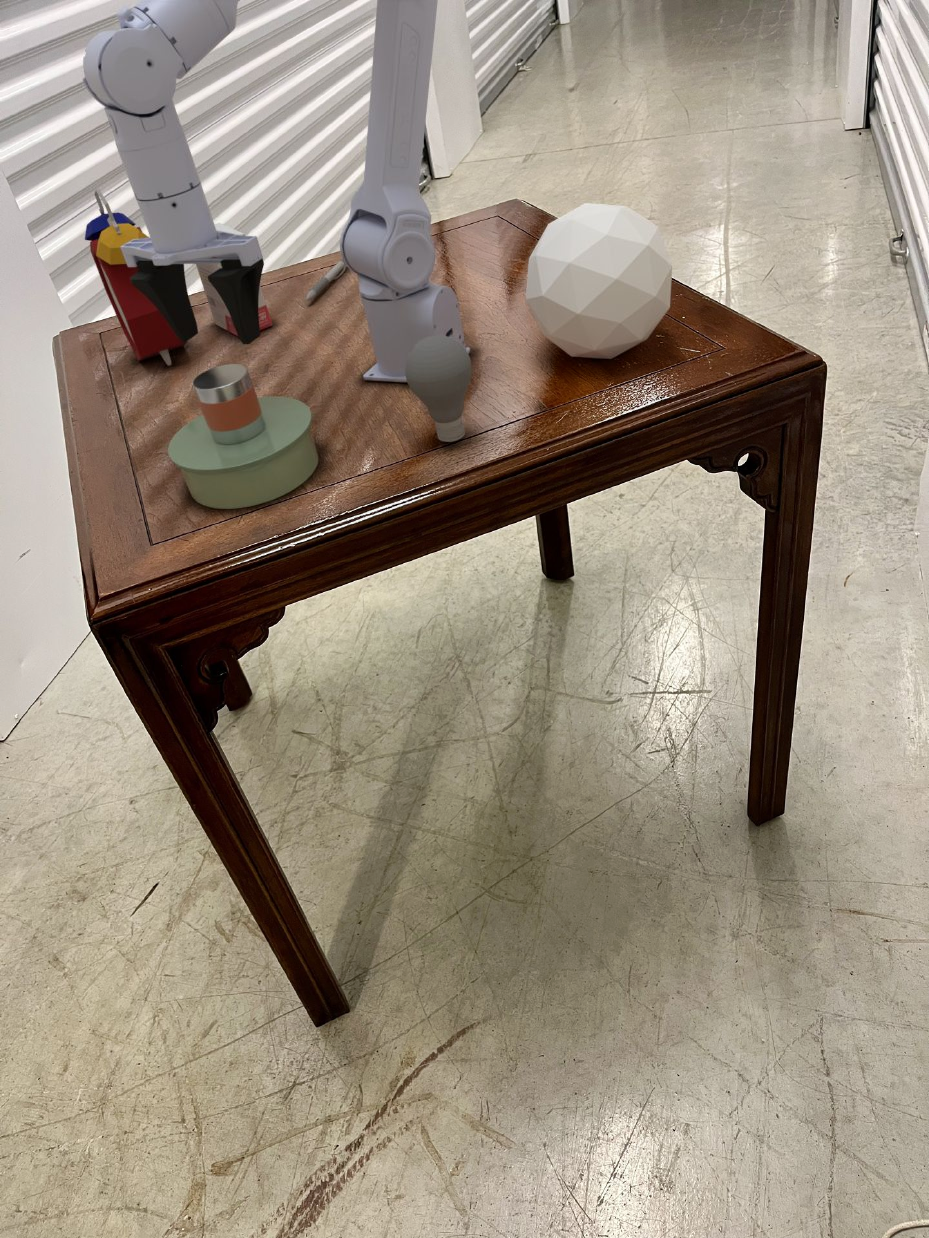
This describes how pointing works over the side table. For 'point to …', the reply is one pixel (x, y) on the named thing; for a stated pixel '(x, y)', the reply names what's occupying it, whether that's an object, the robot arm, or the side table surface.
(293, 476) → the pale green flat cylinder
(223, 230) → the ink box
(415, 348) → the light bulb
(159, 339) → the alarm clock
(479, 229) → the side table surface
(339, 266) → the pen
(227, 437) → the can
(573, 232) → the geometric shape
